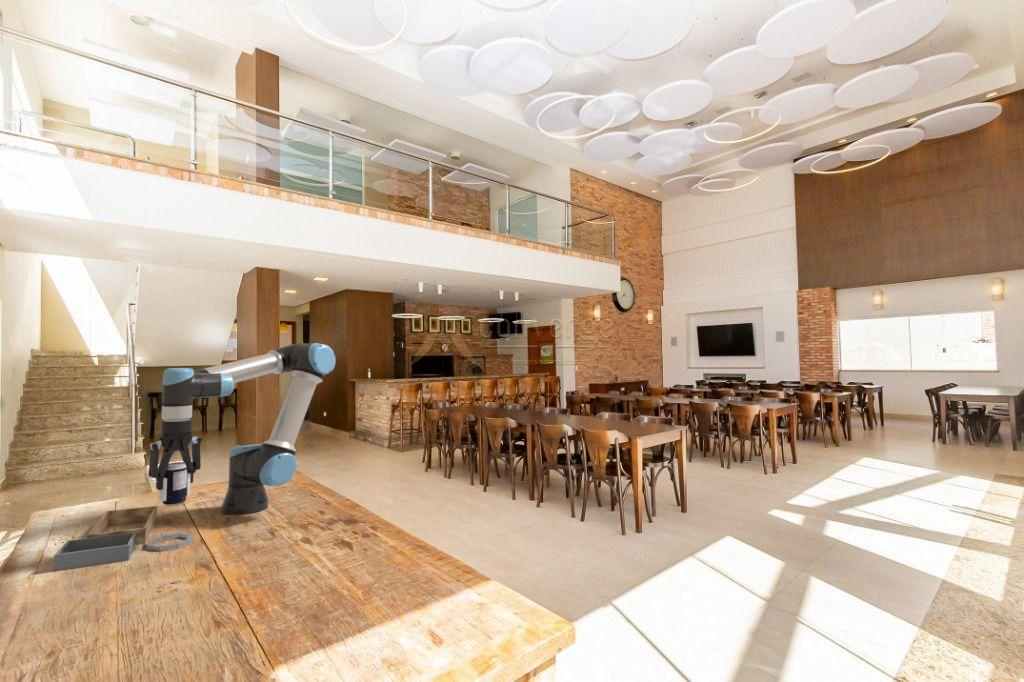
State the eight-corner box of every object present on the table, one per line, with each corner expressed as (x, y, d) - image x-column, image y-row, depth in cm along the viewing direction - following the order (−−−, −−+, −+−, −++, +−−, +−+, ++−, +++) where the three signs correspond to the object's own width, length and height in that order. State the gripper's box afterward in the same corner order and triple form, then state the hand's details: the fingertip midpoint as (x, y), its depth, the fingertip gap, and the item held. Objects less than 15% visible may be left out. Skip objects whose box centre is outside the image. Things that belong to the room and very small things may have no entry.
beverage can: (185, 500, 147) (187, 461, 147) (186, 505, 142) (187, 464, 142) (162, 503, 144) (164, 463, 144) (162, 508, 139) (163, 467, 139)
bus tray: (135, 545, 140) (136, 531, 140) (128, 560, 130) (129, 545, 130) (66, 555, 132) (67, 540, 132) (53, 571, 122) (54, 555, 122)
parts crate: (156, 519, 162) (157, 505, 162) (144, 543, 141) (145, 528, 141) (106, 525, 156) (107, 511, 156) (86, 551, 135) (87, 535, 135)
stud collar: (193, 534, 149) (194, 530, 149) (191, 546, 140) (191, 542, 140) (150, 540, 144) (150, 536, 144) (144, 553, 134) (144, 549, 134)
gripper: (203, 415, 153) (200, 487, 153) (134, 422, 137) (131, 503, 137) (216, 417, 150) (214, 491, 149) (147, 424, 134) (144, 508, 133)
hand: (174, 497), depth 143 cm, fingers closed on beverage can, 6 cm apart
